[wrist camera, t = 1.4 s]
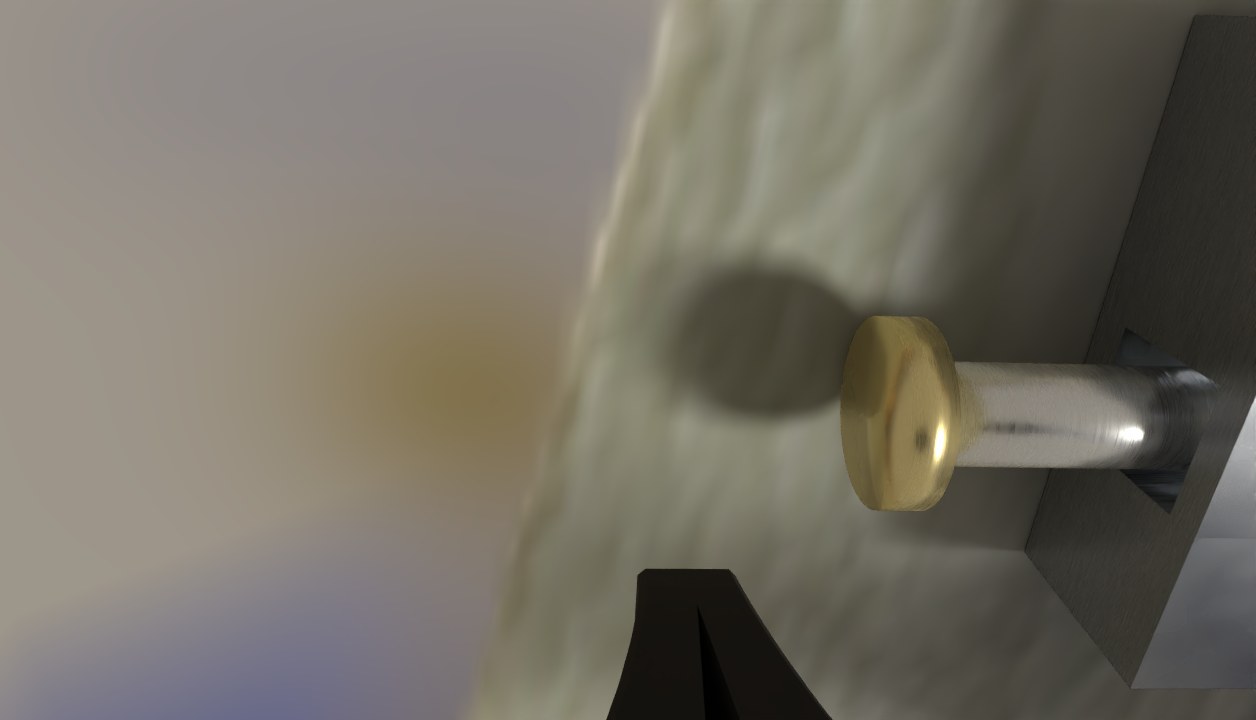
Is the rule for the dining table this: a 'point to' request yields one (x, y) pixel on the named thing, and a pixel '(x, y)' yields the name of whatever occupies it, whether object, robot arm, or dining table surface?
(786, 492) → the dining table surface
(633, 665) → the robot arm
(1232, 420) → the bracket
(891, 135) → the dining table surface
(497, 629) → the dining table surface
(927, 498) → the gold headed rod
